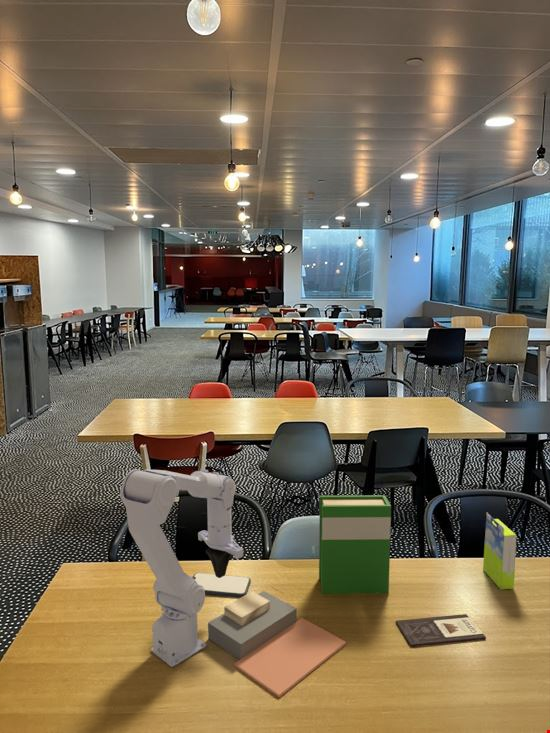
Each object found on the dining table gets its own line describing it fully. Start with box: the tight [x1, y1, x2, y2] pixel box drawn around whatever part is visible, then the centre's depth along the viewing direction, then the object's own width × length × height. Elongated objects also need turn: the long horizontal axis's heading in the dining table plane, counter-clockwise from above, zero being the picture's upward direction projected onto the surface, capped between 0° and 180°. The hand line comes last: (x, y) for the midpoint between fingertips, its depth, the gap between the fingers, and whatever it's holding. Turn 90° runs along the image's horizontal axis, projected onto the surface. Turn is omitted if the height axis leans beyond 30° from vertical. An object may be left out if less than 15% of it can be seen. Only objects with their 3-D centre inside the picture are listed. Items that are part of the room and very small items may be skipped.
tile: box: [223, 591, 270, 626], centre depth 125 cm, size 9×6×2 cm, turn 136°
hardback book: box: [318, 494, 392, 595], centre depth 142 cm, size 18×7×24 cm, turn 91°
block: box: [207, 590, 298, 661], centre depth 124 cm, size 18×11×4 cm, turn 136°
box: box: [482, 512, 517, 590], centre depth 146 cm, size 10×4×17 cm, turn 4°
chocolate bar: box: [395, 613, 487, 648], centre depth 125 cm, size 9×1×18 cm
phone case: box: [191, 572, 252, 598], centre depth 144 cm, size 9×2×16 cm
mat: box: [233, 617, 347, 698], centre depth 116 cm, size 22×13×1 cm, turn 136°
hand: (220, 575), depth 131 cm, fingers closed
